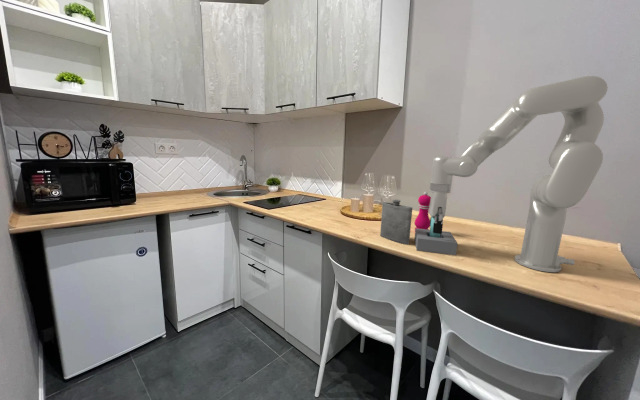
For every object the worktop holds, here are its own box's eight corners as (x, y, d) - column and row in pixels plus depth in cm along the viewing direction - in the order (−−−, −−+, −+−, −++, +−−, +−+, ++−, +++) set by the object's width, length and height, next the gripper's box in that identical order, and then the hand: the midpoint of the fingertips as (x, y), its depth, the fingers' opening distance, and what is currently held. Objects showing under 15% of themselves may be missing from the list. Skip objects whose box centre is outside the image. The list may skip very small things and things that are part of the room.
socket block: (448, 243, 109) (450, 231, 108) (455, 255, 96) (457, 242, 95) (414, 239, 113) (415, 228, 112) (416, 250, 99) (417, 238, 99)
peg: (438, 245, 105) (441, 213, 103) (439, 249, 102) (443, 215, 99) (427, 244, 107) (431, 212, 104) (428, 247, 103) (432, 214, 100)
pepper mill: (426, 230, 126) (431, 190, 122) (431, 235, 119) (436, 193, 115) (412, 229, 127) (415, 190, 123) (415, 234, 120) (420, 192, 116)
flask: (405, 245, 105) (409, 203, 101) (377, 236, 115) (380, 197, 112) (410, 243, 107) (414, 202, 103) (382, 234, 118) (385, 196, 114)
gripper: (427, 185, 109) (423, 223, 112) (432, 190, 92) (427, 235, 96) (446, 186, 107) (441, 224, 110) (455, 192, 90) (449, 237, 94)
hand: (435, 229), depth 103 cm, fingers open, 9 cm apart
